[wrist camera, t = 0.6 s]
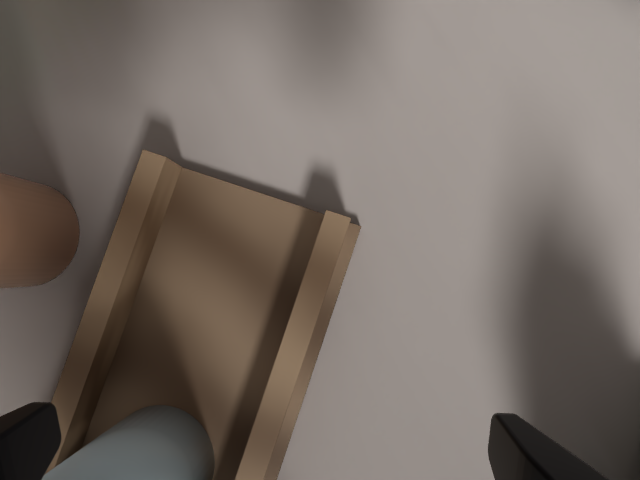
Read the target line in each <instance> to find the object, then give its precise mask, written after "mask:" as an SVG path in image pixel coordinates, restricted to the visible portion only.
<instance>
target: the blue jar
mask: <svg viewBox="0 0 640 480" xmlns="http://www.w3.org/2000/svg"><path fill="white" fill-rule="evenodd" d="M214 468H215V458H214V451H213V446H212V443H211V441H210V438H209V436H208V434H207V432H206V431H205V429H204V428H203V426H202V425H201V424H200V423H199V422H198V421H197V420H196V419H195V418H194V417H193V416H191V415H190V414H188V413H187V412H185V411H183V410H181V409H179V408H176V407H172V406H166V405H154V406H148V407H144V408H141V409H139V410H137V411H135V412H133V413H131V414H130V415H128V416H127V417H125V418H124V419H123V420H121V421H120V422H118V423H117V424H116V425H114V426H113V427H111V428H110V429H108V430H107V431H106V432H104V433H103V434H101V435H100V436H99V437H97V438H96V439H94V440H93V441H91V442H90V443H89V444H87V445H86V446H84V447H83V448H82V449H80V450H79V451H77V452H76V453H74V454H73V455H72V456H70V457H69V458H67V459H66V460H65V461H63V462H62V463H60V464H59V465H57V466H56V467H55V468H53V469H52V470H50V471H49V472H48V473H46V474H45V475H44V476H43V478H42V480H212V479H213V475H214Z"/></svg>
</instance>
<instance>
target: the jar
mask: <svg viewBox="0 0 640 480" xmlns="http://www.w3.org/2000/svg"><path fill="white" fill-rule="evenodd" d="M78 241H79V223H78V219H77V215H76V213H75V210H74V209H73V207H72V205H71V204H70V202H69V201H68V200H67V199H66V198H65V196H64V195H62V194H61V193H60V192H59V191H57V190H55V189H54V188H51V187H49V186H47V185H43V184H39V183H36V182H32V181H29V180H25V179H21V178H18V177H14V176H11V175H7V174H3V173H0V288H14V287H30V286H37V285H41V284H44V283H46V282H49V281H50V280H52V279H54V278H56V277H57V276H58V275H59V274H61V273H62V272H63V271H64V270H65V269H66V267H67V266H68V265H69V264H70V262H71V260H72V259H73V257H74V255H75V252H76V250H77V246H78Z"/></svg>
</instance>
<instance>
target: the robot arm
mask: <svg viewBox="0 0 640 480" xmlns="http://www.w3.org/2000/svg"><path fill="white" fill-rule="evenodd" d="M60 444H61V430H60V425H59V420H58V415H57V410H56V407H55V405H54V404H52V403H47V402H33V403H30V404H27V405H25V406H23V407H21V408H18V409H16V410H14V411H12V412H10V413H7V414H5V415H3V416H1V417H0V480H42V478H43V476H44V474H45V473H46V471H47V469H48V467H49V465H50V464H51V462H52V460H53V458H54V456H55V455H56V453H57V451H58V449H59V447H60ZM488 456H489V461H490V464H491V468H492V471H493V475H494V478H495V480H609V479H608V478H606V477H605V476H604V475H602V474H601V473H599V472H598V471H596V470H595V469H594V468H592V467H591V466H589V465H588V464H586V463H585V462H584V461H582V460H581V459H579V458H578V457H576V456H575V455H573V454H572V453H571V452H569V451H568V450H566V449H565V448H563V447H562V446H561V445H559V444H558V443H556V442H555V441H553V440H552V439H551V438H549V437H548V436H546V435H545V434H543V433H542V432H541V431H539V430H538V429H536V428H535V427H533V426H532V425H530V424H529V423H528V422H526V421H525V420H523V419H522V418H520V417H519V416H517V415H516V414H513V413H495V414H494V415H493V416H492V419H491V427H490V435H489V444H488Z"/></svg>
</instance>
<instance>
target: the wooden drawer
mask: <svg viewBox="0 0 640 480" xmlns="http://www.w3.org/2000/svg"><path fill="white" fill-rule="evenodd" d="M350 220H351V218H349V217H346V216H343V215H340V214H337V213H334V212H331V211H328V210H326V212H325V214H322V213H319V212H316V211H313V210H310V209H307V208H304V207H301V206H298V205H295V204H292V203H289V202H286V201H283V200H280V199H277V198H274V197H271V196H268V195H265V194H262V193H259V192H256V191H253V190H250V189H247V188H244V187H241V186H238V185H235V184H232V183H229V182H225V181H222V180H219V179H216V178H213V177H210V176H207V175H204V174H201V173H198V172H195V171H192V170H189V169H186V168H183V167H181V166H179V165H178V164H176V163H175V162H173V161H172V160H170V159H168V158H167V157H164V156H161V155H158V154H155V153H152V152H149V151H146V150H142V153H141V156H140V159H139V161H138V164H137V167H136V170H135V173H134V175H133V178H132V181H131V184H130V186H129V189H128V192H127V195H126V197H125V200H124V203H123V206H122V208H121V211H120V214H119V217H118V219H117V222H116V225H115V228H114V230H113V233H112V236H111V239H110V241H109V244H108V247H107V250H106V253H105V255H104V258H103V261H102V264H101V266H100V269H99V272H98V275H97V277H96V280H95V283H94V286H93V288H92V291H91V294H90V297H89V299H88V302H87V305H86V308H85V310H84V313H83V316H82V319H81V321H80V324H79V327H78V330H77V333H76V335H75V338H74V341H73V344H72V346H71V349H70V352H69V355H68V357H67V360H66V363H65V366H64V368H63V371H62V374H61V377H60V379H59V382H58V385H57V388H56V390H55V393H54V396H53V399H52V402H51V403H52V404H54V405H55V407H56V410H57V415H58V420H59V425H60V430H61V444H60V447H59V449H58V451H57V453H56V455H55V456H54V458H53V460H52V462H51V464H50V465H49V467H48V469H47V471H46V473H48V472H49V471H50V470H52V469H53V468H55V467H56V466H57V465H59V464H60V463H62V462H63V461H65V460H66V459H67V458H69V457H70V456H72V455H73V454H74V453H76V452H77V451H79V450H80V449H82V448H83V447H84V446H86V445H87V444H89V443H90V442H91V441H93V440H94V439H96V438H97V437H99V436H100V435H101V434H103V433H104V432H106V431H107V430H108V429H110V428H111V427H113V426H114V425H116V424H117V423H118V422H120V421H121V420H123V419H124V418H125V417H127V416H128V415H130V414H131V413H133V412H135V411H137V410H139V409H141V408H144V407H148V406H154V405H166V406H172V407H176V408H179V409H181V410H183V411H185V412H187V413H188V414H190V415H191V416H193V417H194V418H195V419H196V420H197V421H198V422H199V423H200V424H201V425H202V426H203V428H204V429H205V431H206V432H207V434H208V436H209V438H210V441H211V443H212V446H213V451H214V458H215V468H214V475H213V479H212V480H277V477H278V474H279V471H280V468H281V465H282V462H283V459H284V456H285V453H286V450H287V447H288V444H289V441H290V438H291V435H292V432H293V429H294V426H295V423H296V420H297V417H298V414H299V411H300V408H301V405H302V402H303V399H304V396H305V393H306V390H307V387H308V384H309V381H310V378H311V375H312V372H313V369H314V366H315V363H316V360H317V357H318V354H319V351H320V348H321V345H322V342H323V339H324V336H325V333H326V330H327V327H328V324H329V321H330V318H331V315H332V312H333V309H334V306H335V303H336V300H337V297H338V294H339V291H340V288H341V285H342V282H343V279H344V276H345V273H346V270H347V267H348V264H349V261H350V258H351V255H352V252H353V249H354V247H355V244H356V241H357V238H358V235H359V232H360V229H361V226H358V225H355V224H352V223H350ZM46 473H45V474H46ZM45 474H44V475H45Z"/></svg>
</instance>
